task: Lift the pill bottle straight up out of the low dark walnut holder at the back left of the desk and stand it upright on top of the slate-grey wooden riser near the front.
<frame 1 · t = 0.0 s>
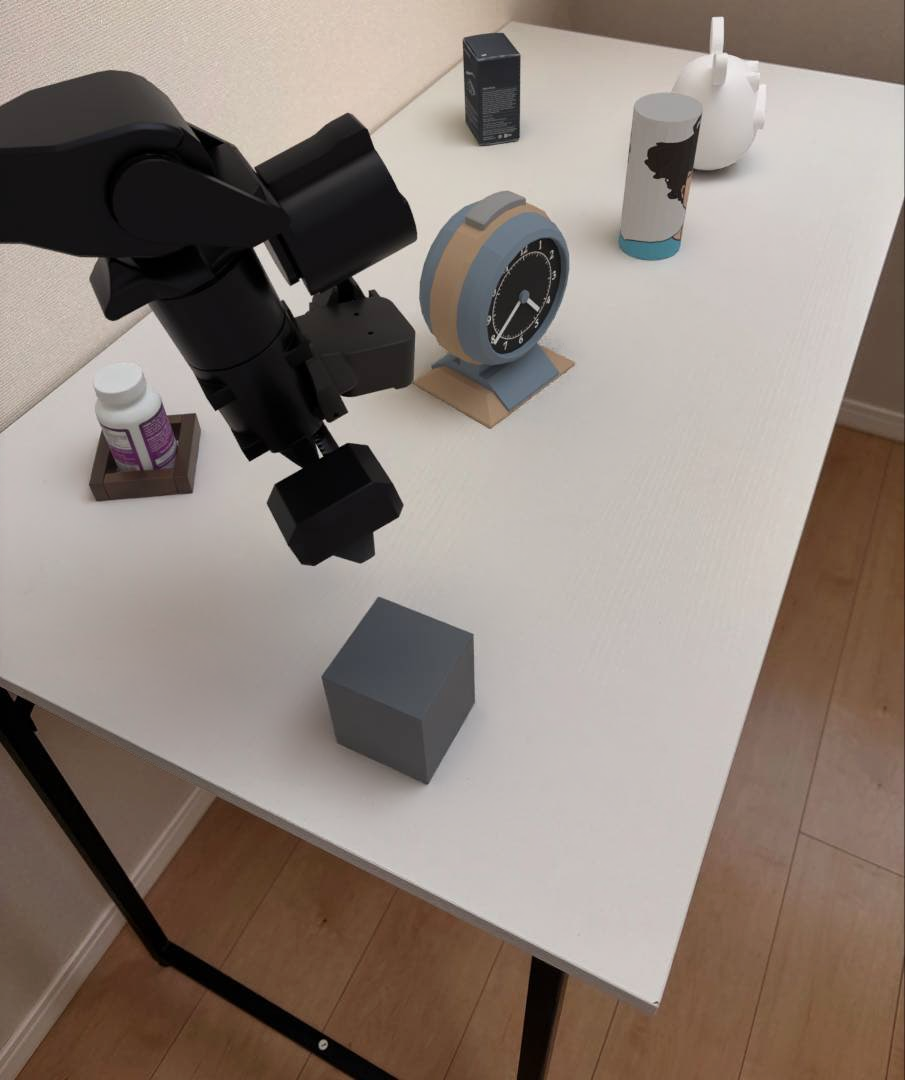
hand: (339, 510, 60), 13 cm above the table, tool pointing down, fingers open, 9 cm apart
pill bottle: (150, 465, 83), resting in holder
holder: (150, 464, 82), on the table
piggy bank: (706, 164, 116), on the table
box: (491, 132, 124), on the table
alarm clock: (494, 375, 90), on the table
white cylinder: (649, 245, 104), on the table
riser: (407, 722, 64), on the table
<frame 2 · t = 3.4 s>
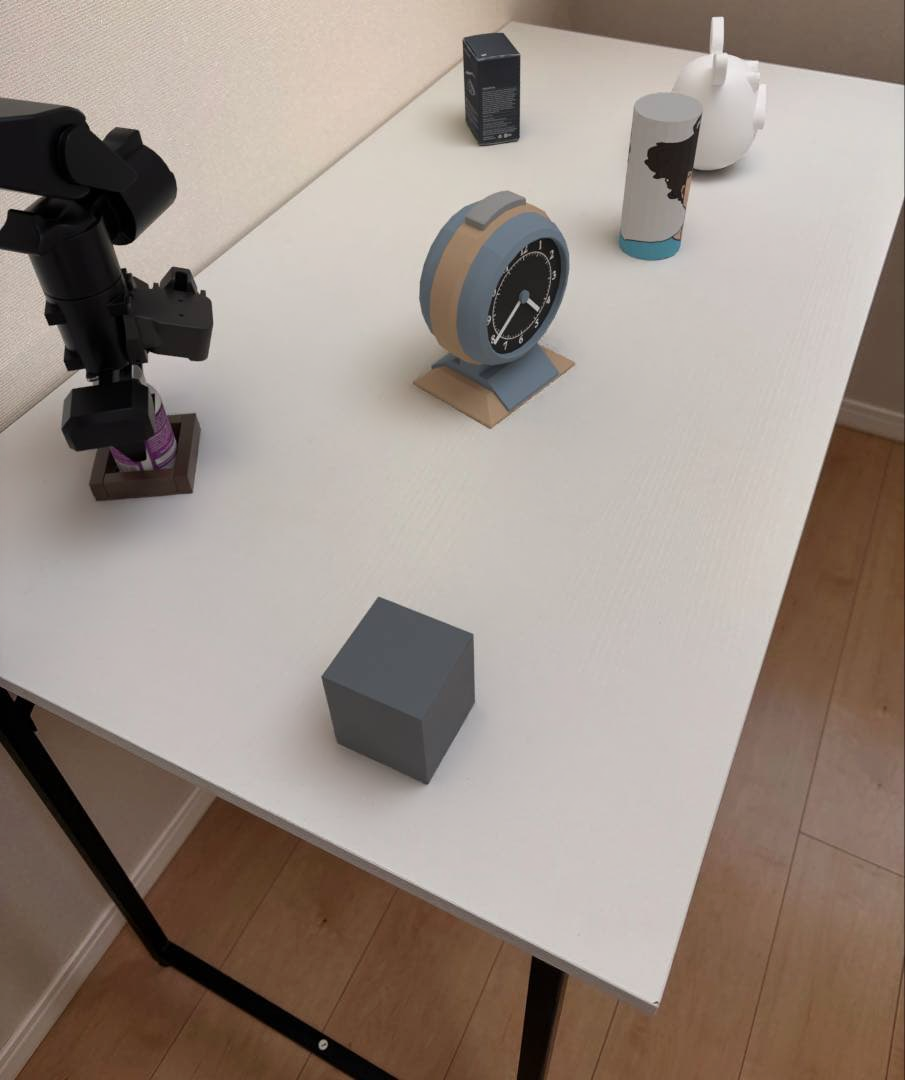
hand: (140, 438, 80), 3 cm above the table, tool pointing down, fingers closed on pill bottle, 5 cm apart
pill bottle: (150, 465, 83), resting in holder, touching gripper
everything else where it was.
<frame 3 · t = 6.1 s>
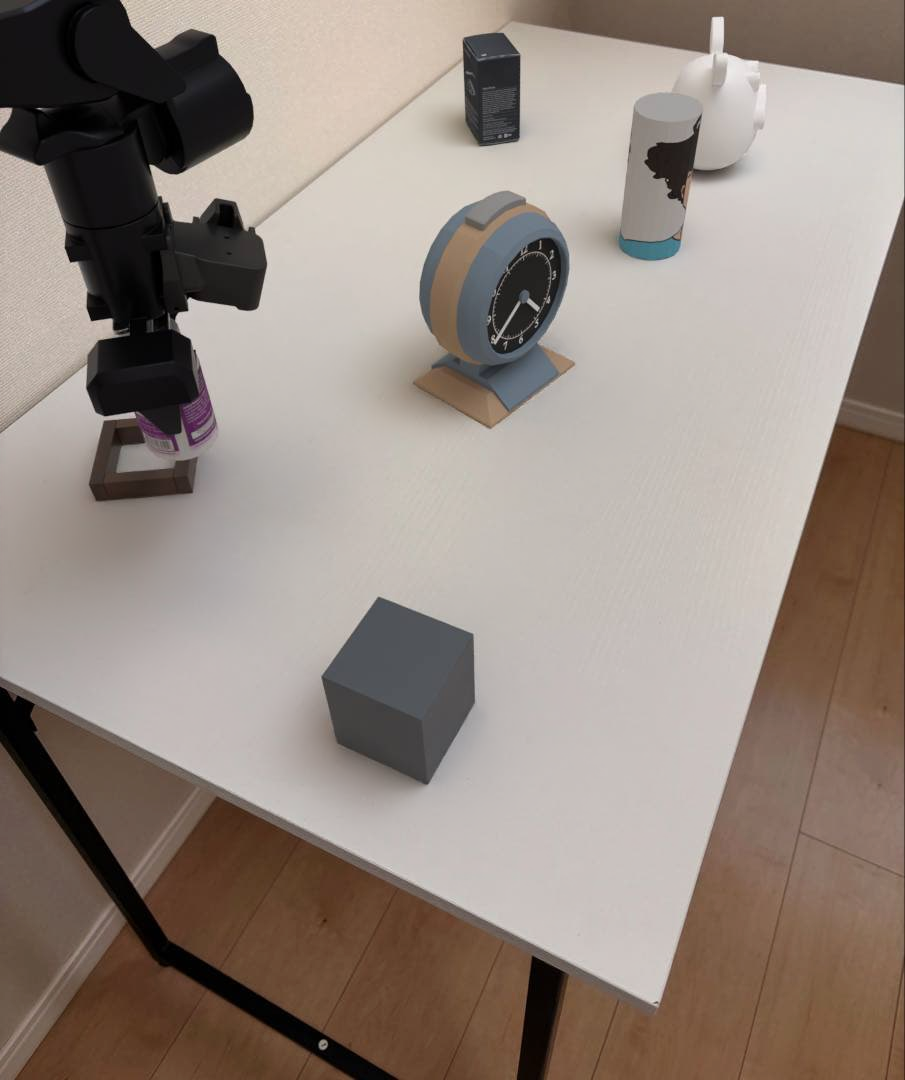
hand: (173, 408, 68), 13 cm above the table, tool pointing down, fingers closed on pill bottle, 5 cm apart
pill bottle: (183, 441, 70), point 9 cm above the table, touching gripper
everything else where it was.
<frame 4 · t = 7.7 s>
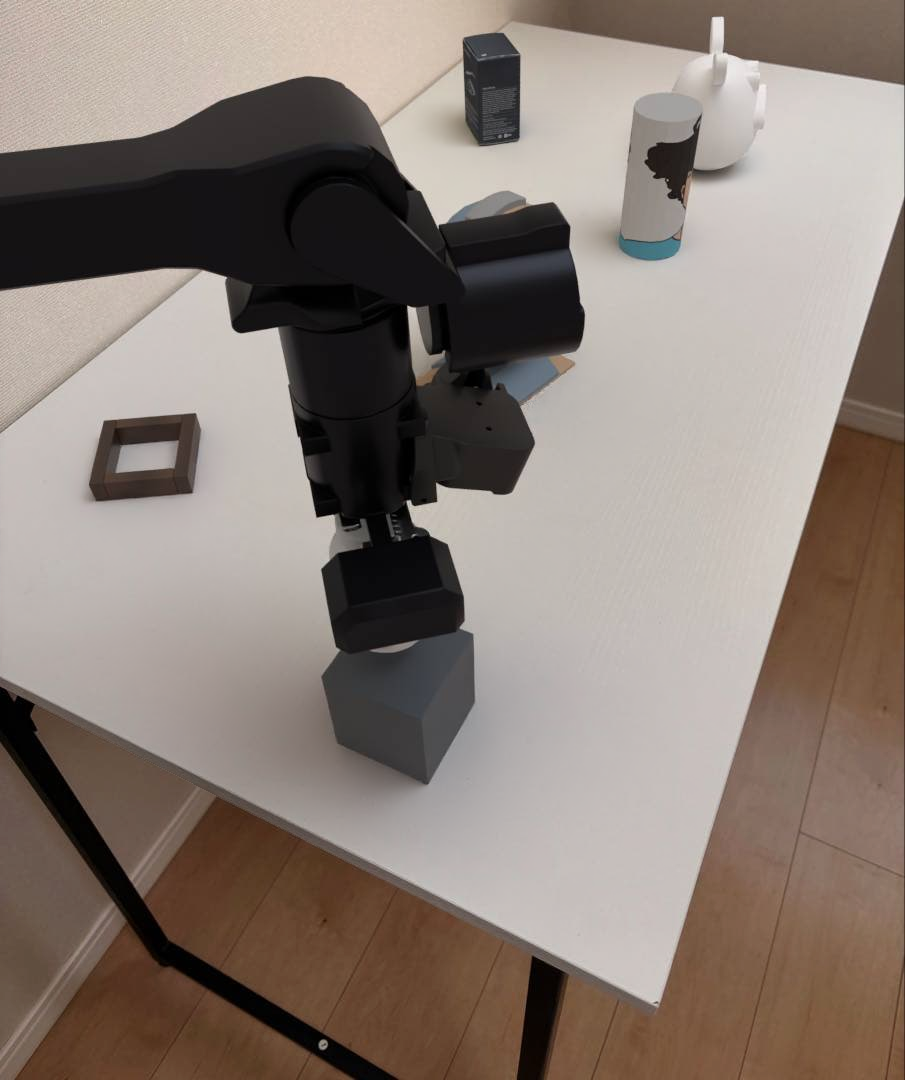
hand: (382, 590, 55), 13 cm above the table, tool pointing down, fingers closed on pill bottle, 5 cm apart
pill bottle: (387, 622, 58), point 10 cm above the table, touching gripper
everything else where it was.
when the fingers open (11 cm above the table, at t = 8.8 s): pill bottle stays where it is, resting on riser.
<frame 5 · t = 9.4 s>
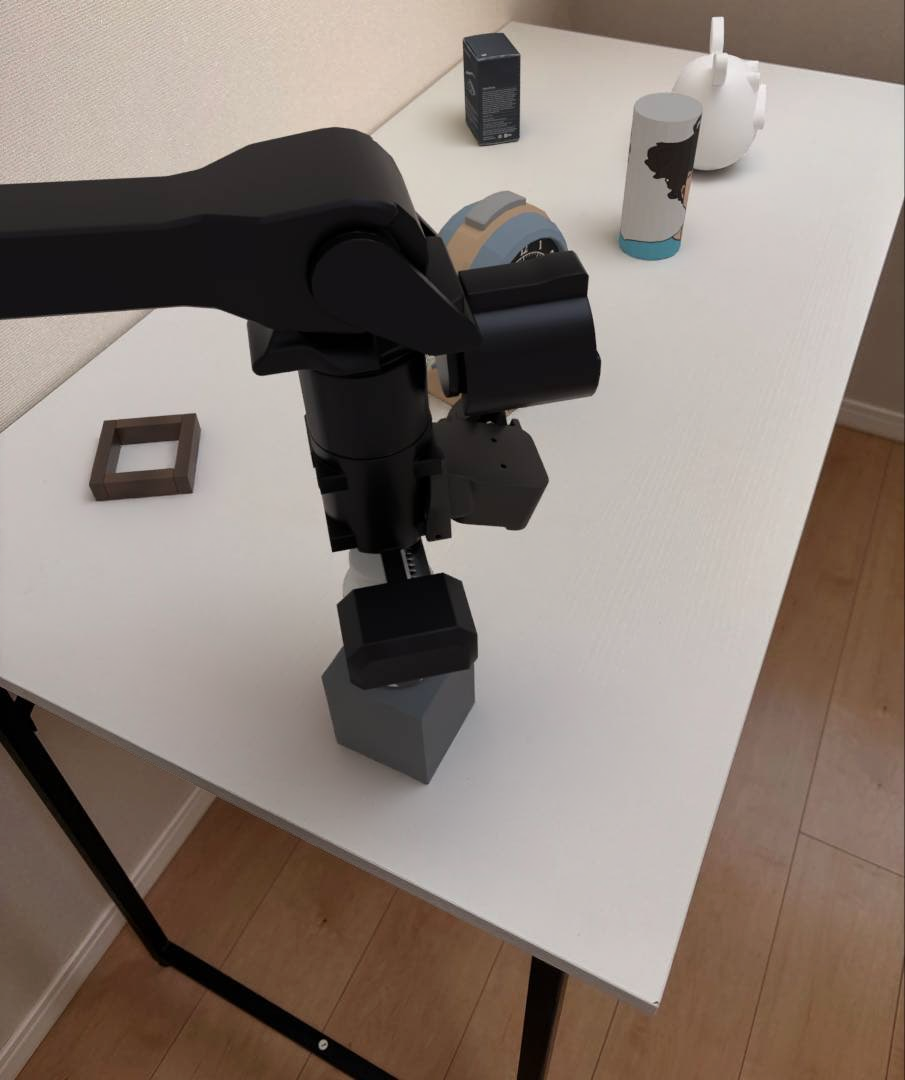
hand: (394, 619, 56), 12 cm above the table, tool pointing down, fingers open, 9 cm apart
pill bottle: (398, 655, 58), point 8 cm above the table, touching riser
everything else where it was.
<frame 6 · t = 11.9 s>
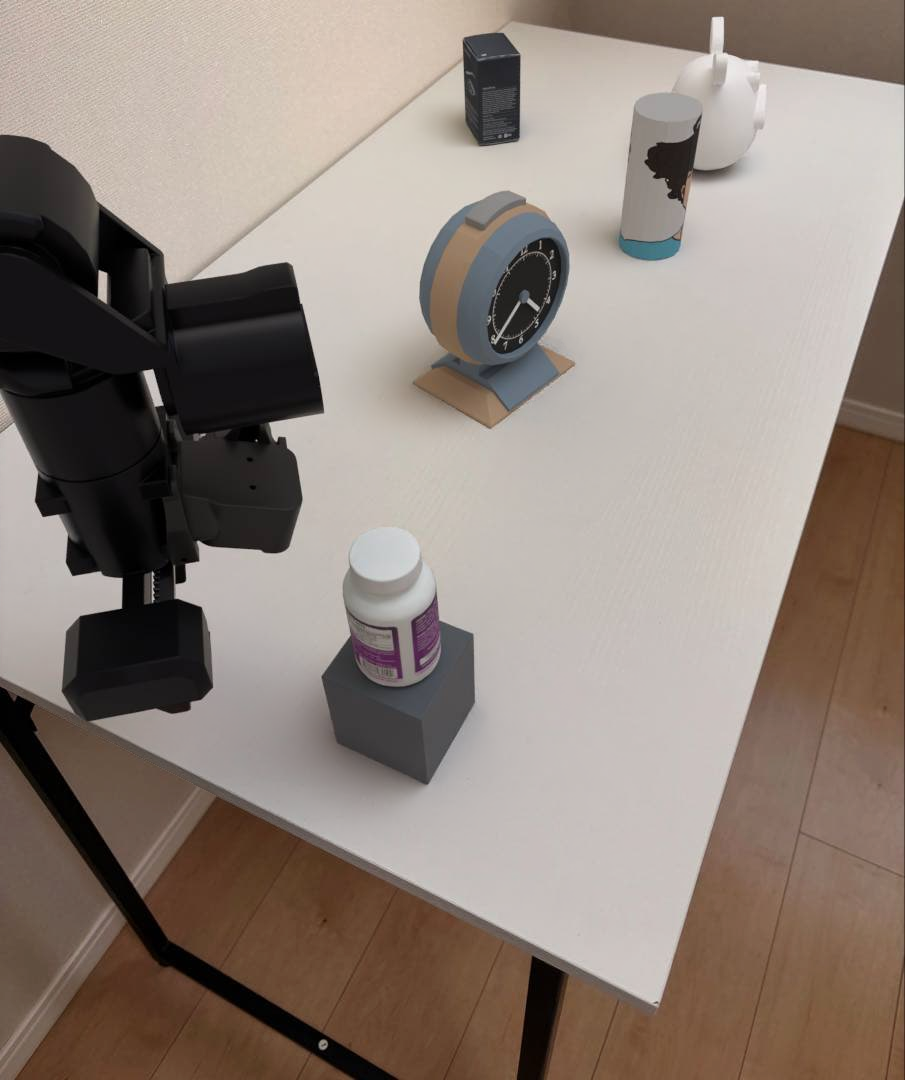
hand: (179, 642, 54), 13 cm above the table, tool pointing down, fingers open, 9 cm apart
nothing on the table moved.
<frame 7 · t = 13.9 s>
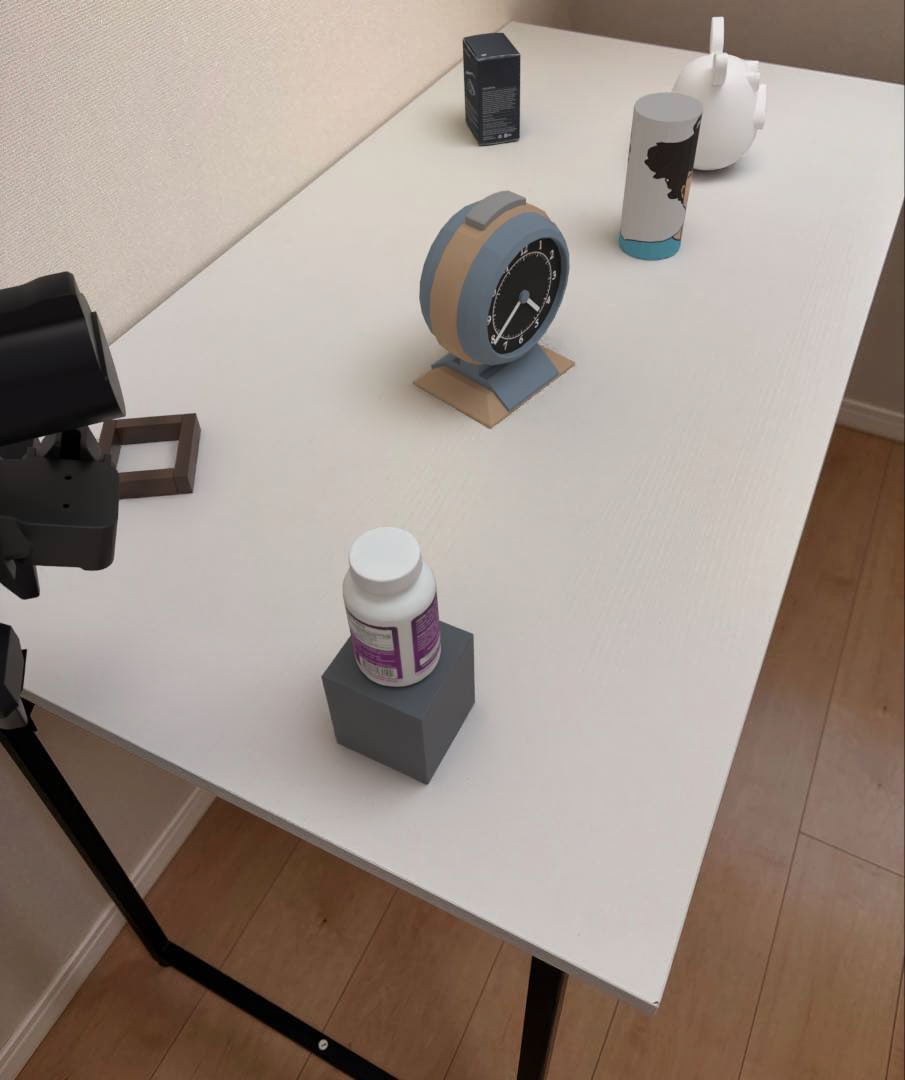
hand: (25, 657, 54), 12 cm above the table, tool pointing down, fingers open, 9 cm apart
nothing on the table moved.
at the end: pill bottle 0.0 cm off-centre on the riser, point 7.8 cm above the riser's base; pill bottle tilted 0°; pill bottle touching riser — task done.
